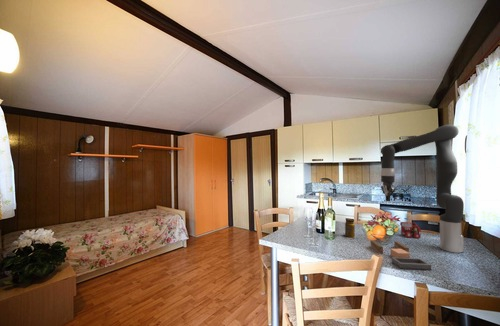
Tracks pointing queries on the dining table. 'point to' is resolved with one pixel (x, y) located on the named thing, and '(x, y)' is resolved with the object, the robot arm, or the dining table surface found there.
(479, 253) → the dining table surface
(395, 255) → the block
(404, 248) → the channel
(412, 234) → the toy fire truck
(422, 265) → the tray
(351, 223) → the condiment
